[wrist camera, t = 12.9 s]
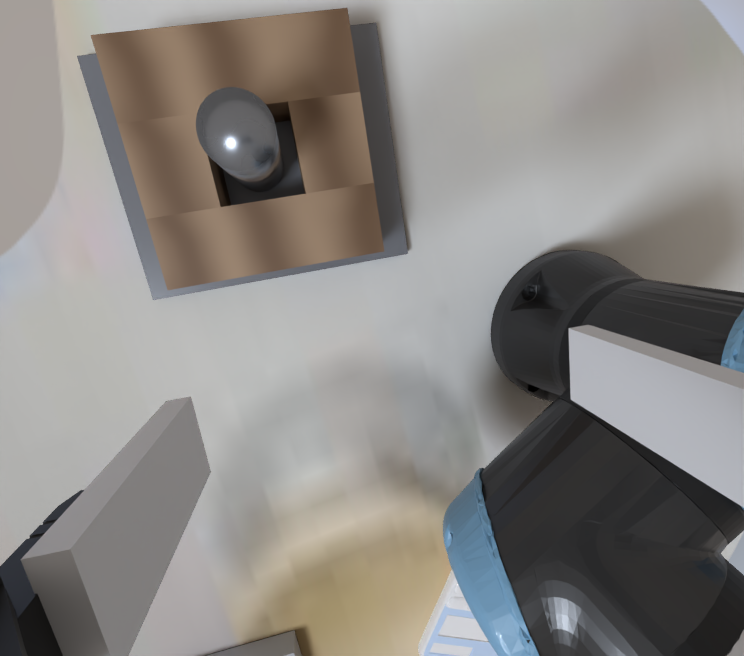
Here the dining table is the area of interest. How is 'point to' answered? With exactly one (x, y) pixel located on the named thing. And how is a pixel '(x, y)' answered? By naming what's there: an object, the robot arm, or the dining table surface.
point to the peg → (241, 137)
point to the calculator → (453, 627)
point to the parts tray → (266, 647)
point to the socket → (295, 134)
